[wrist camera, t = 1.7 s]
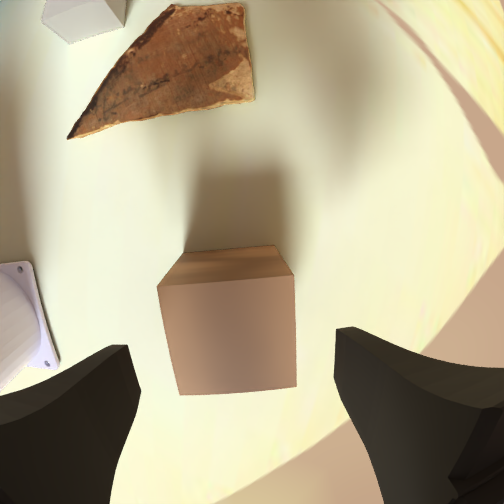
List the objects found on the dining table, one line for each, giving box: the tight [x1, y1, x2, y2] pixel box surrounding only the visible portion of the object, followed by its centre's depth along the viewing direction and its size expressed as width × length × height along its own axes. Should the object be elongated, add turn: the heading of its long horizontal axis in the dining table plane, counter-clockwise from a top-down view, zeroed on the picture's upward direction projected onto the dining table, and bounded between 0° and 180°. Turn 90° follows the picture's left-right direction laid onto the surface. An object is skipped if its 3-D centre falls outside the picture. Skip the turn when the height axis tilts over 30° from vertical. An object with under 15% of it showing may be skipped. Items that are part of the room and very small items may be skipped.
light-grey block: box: [41, 0, 127, 44], centre depth 11 cm, size 4×4×4 cm
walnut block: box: [157, 245, 297, 395], centre depth 14 cm, size 5×5×6 cm
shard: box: [67, 3, 255, 140], centre depth 14 cm, size 11×8×2 cm
